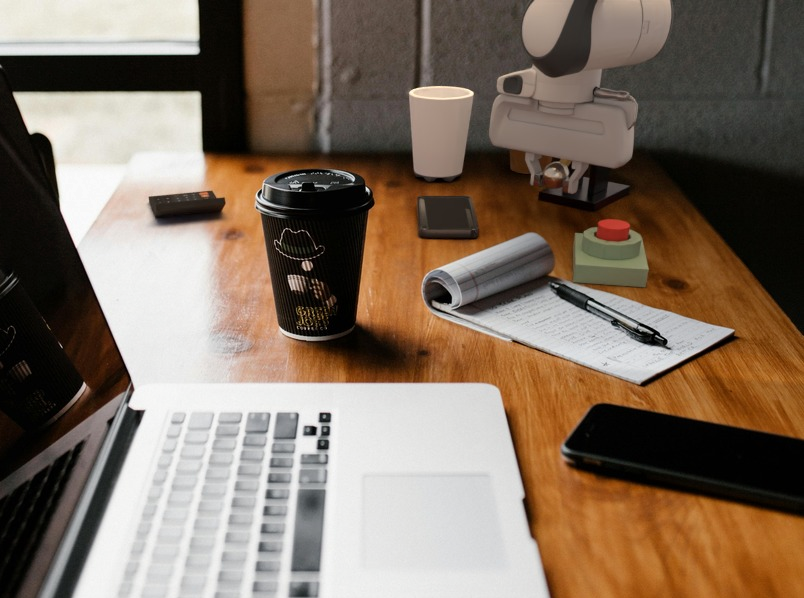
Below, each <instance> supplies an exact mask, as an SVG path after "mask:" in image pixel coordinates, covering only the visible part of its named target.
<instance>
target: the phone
mask: <svg viewBox="0 0 804 598" xmlns="http://www.w3.org/2000/svg"><path fill="white" fill-rule="evenodd" d="M416 211H417V231H418V233H417V234H418V237H420V238H424V239H425V238H426V239H475V238H477V237H479V229H480V227H479V226H480V225H479V222H478V219H477V218H478V217H477V214H476V209H475V205H474V201H473V198H472V196H468V195H419V196H417V198H416Z"/></svg>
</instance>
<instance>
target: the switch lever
mask: <svg viewBox="0 0 804 598" xmlns="http://www.w3.org/2000/svg"><path fill="white" fill-rule="evenodd" d="M571 162H572V161H571V160H566V159H561V158H559V161H551V163H550V164H548V165H547V166H546V167H545V169H544V171H543V181H544V183H545V186H547V188H548V187H549V188H552V189H558V188H561V187H563V185H562V183H563V180H564V179H567V178H569V170H568V168H567V167H568V166H569V164H570V163H571Z"/></svg>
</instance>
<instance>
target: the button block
mask: <svg viewBox="0 0 804 598" xmlns="http://www.w3.org/2000/svg"><path fill="white" fill-rule="evenodd" d="M597 227H598V226H595V227H590V228H587V229H585V230H583V232H582V233H581V232H575V233H574V237H573V246H572V283H577V284H593V285H605V286H606V285H607V286H618V287H619V286H620V287H633V288H646V287H647V281H648V278H649V277H648V275H649V271H650V268H649V263H648V259H647V255H646V250H645V244H644V240H643V237H642V235H641V233H639V232H636V231H635V230H633V229H629V235H628V240H627V241H619V242H615V241H606V240H602V239H598V238H597V237H596V234H597Z"/></svg>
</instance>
